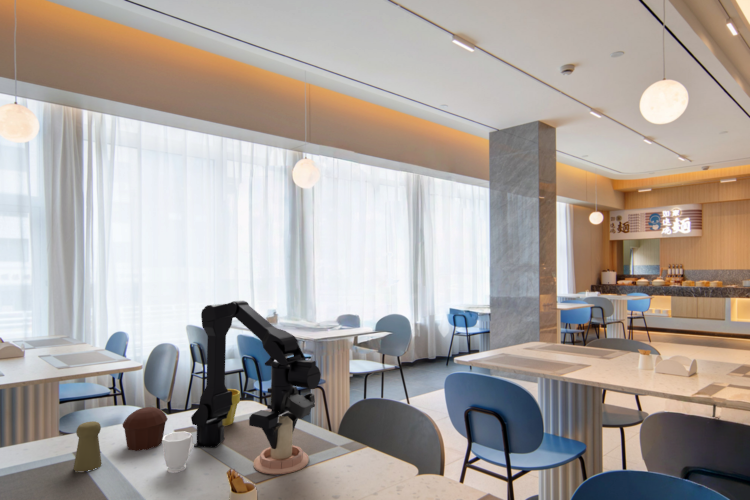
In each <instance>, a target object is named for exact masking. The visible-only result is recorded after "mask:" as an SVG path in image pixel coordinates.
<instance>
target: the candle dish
mask: <svg viewBox="0 0 750 500" xmlns="http://www.w3.org/2000/svg"><path fill="white" fill-rule="evenodd" d="M309 461H310V458H309V455H308V453H306V452H305V451H304V450H303V449H302V448H301V446H296V445H294V444H292V456H291V457H289V458H287V459H282V460H277V459H273V458H271V446H269V447H267V448H263V450H261V452H260V454H259V455H257V457H256V458H254V460H253V469H255V470H256V471H257V472H259V473H262V474H266V475H287V474H291V473H295V472H298V471H300V470H302V469H304V468H305V467H306V466H307V465H308V464H309Z"/></svg>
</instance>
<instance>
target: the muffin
mask: <svg viewBox="0 0 750 500" xmlns="http://www.w3.org/2000/svg"><path fill="white" fill-rule="evenodd" d="M167 421H168V417H167V415H166V414H165V412H164V411H163V410H162V409H160V408H157V407H154V406H147V407H146V406H145V407H142V408H138V409H136V410H135V411H133V412H131V414H129V415H127V416H126V418H125V420H124V421H123V423H122V427H123V429H124V433H125V434H124V435H125V441H126V447H127V450H128V451H132V452H133V451H134V452H139V451H148V450H150V449H154V448H157V447H159V446H160V445H161V444H163V443H162V439H163V437H164V432H165V427H166V423H167Z"/></svg>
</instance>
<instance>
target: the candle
mask: <svg viewBox="0 0 750 500" xmlns="http://www.w3.org/2000/svg"><path fill="white" fill-rule="evenodd" d="M278 423H282V425H281V426H280V427H279V429H278V438H277V447H276V449H272V447H271V446H270V447H271V458H273V459H277V460H282V459H287V458H289V457H291V456H292V445H293V434H294V431H293V421H292V420H291V419H290V418H289V417H288V416H286V417H285V416H282V415H281V416H279V421H278ZM292 433H293V434H292Z"/></svg>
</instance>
